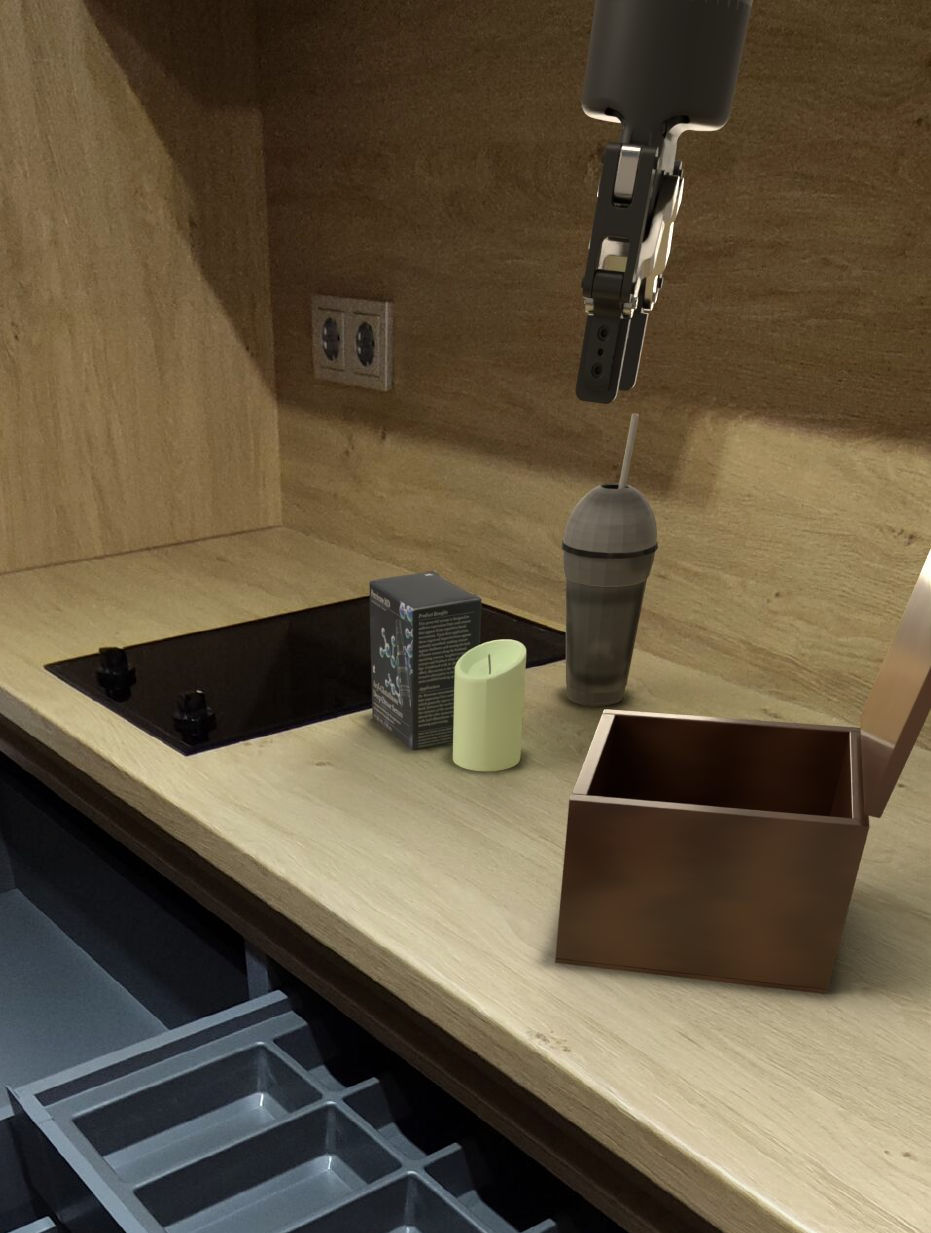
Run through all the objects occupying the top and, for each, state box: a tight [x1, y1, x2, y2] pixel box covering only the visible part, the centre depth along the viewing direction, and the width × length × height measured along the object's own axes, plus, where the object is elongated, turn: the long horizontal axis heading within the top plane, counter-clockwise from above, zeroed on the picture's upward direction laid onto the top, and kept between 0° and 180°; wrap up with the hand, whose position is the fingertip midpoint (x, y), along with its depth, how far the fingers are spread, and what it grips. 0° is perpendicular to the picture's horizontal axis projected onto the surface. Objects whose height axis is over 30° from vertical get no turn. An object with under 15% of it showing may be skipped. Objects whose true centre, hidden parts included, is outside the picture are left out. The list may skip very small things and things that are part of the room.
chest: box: [554, 708, 871, 995], centre depth 69 cm, size 15×14×10 cm
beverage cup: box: [560, 413, 659, 707], centre depth 95 cm, size 7×7×20 cm
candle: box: [452, 638, 527, 772], centre depth 89 cm, size 5×5×8 cm
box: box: [368, 570, 482, 751], centre depth 93 cm, size 8×6×11 cm
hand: (605, 394), depth 70 cm, fingers open, 8 cm apart
